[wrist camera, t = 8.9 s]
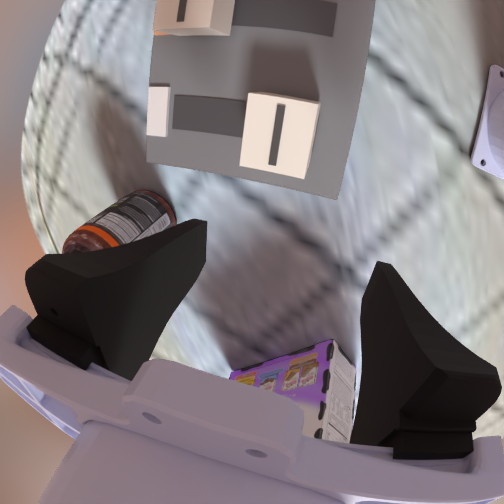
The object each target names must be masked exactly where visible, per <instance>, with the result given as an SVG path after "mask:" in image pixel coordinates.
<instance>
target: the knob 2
mask: <svg viewBox="0 0 504 504" xmlns="http://www.w3.org/2000/svg"><path fill="white" fill-rule="evenodd" d="M320 105H321V102H317V101H312V100H307V99H302V98H297V97H291V96H286V95H280V94H273V93H266V92H252V93H248V100H247V108H246V115H245V123H244V131H243V139H242V148H241V156H240V165H239V166H243V167H249V168H254V169H259V170H264V171H269V172H274V173H278V174H283V175H287V176H292V177H296V178H301V179H304V178H305V175H306V172H307V169H308V167H309V163H310V158H311V153H312V148H313V143H314V137H315V132H316V127H317V121H318V116H319V110H320Z"/></svg>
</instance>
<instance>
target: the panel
mask: <svg viewBox="0 0 504 504" xmlns="http://www.w3.org/2000/svg"><path fill="white" fill-rule="evenodd" d="M374 8H375V0H235V4H234V11H233V18H232V24H231V31H230V36H219V35H192V36H177V35H173V34H168V33H163V32H159V31H154V38H153V46H152V56H151V66H150V78H149V92H148V110H147V141H146V162H148V163H155V164H162V165H168V166H175V167H181V168H187V169H193V170H199V171H205V172H210V173H216V174H221V175H226V176H232V177H237V178H242V179H247V180H252V181H257V182H261V183H266V184H271V185H275V186H280V187H284V188H289V189H293V190H298V191H302V192H306V193H310V194H314V195H319V196H323V197H327V198H331V199H334V200H337V199H338V195H339V191H340V187H341V183H342V179H343V175H344V171H345V166H346V162H347V158H348V154H349V149H350V145H351V140H352V136H353V131H354V126H355V122H356V117H357V112H358V107H359V102H360V97H361V91H362V86H363V81H364V75H365V69H366V63H367V57H368V51H369V45H370V38H371V31H372V24H373V16H374ZM252 92H266V93H273V94H280V95H286V96H291V97H297V98H302V99H307V100H312V101H317V102H321V105H320V110H319V116H318V121H317V127H316V132H315V137H314V143H313V148H312V153H311V158H310V163H309V167H308V169H307V172H306V175H305V178H304V179H301V178H296V177H292V176H287V175H283V174H278V173H274V172H269V171H264V170H259V169H254V168H249V167H243V166H239V165H240V156H241V148H242V139H243V131H244V123H245V115H246V108H247V100H248V93H252Z"/></svg>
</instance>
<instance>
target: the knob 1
mask: <svg viewBox="0 0 504 504" xmlns="http://www.w3.org/2000/svg"><path fill="white" fill-rule="evenodd" d="M234 4H235V0H157V3H156V9H155V16H154V23H153V31H159V32H163V33H168V34H173V35H177V36H192V35H219V36H230V31H231V24H232V18H233V11H234Z"/></svg>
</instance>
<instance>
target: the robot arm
mask: <svg viewBox="0 0 504 504" xmlns="http://www.w3.org/2000/svg"><path fill="white" fill-rule="evenodd" d="M500 71H501V72H502V74H503V77H501V76H500ZM482 159H483V160H484V163H483V164H482V165H481V164H480V162H481V160H482ZM471 163H472V164H473V165H474V166H476V167H478V168H480V169H482V170H484V171H486V172H489V173H491V174H493V175H495V176H497V177H499V178H501V179H503V180H504V69H503V68H502V67H500V66H498V65H491V66H490V71H489V78H488V84H487V90H486V96H485V101H484V106H483V111H482V115H481V120H480V124H479V128H478V132H477V136H476V140H475V144H474V148H473V151H472V155H471ZM206 241H207V221H203V220H198V219H191V220H188V221H185V222H182V223H180V224H177V225H175V226H173V227H170V228H168V229H165V230H163V231H160V232H158V233H155V234H153V235H150V236H147V237H144V238H142V239H139V240H136V241H133V242H130V243H126V244H123V245H119V246H115V247H110V248H105V249H100V250H95V251H88V252H80V253H69V254H46V255H45V256H43V257H42V258H41V259H40V260H38V261H37V262H36V263H35V264H33V265H32V266H31V267H30V268H28V270H27V271H26V274H25V283H26V287H27V290H28V293H29V295H30V298H31V300H32V303H33V305H34V307H35V310H36V312H37V314H38V315H37V316H36V317H35V318H34V319H32V318H31V317H30V316H29V315H28V314H27V313H26V312H24V311H23V310H21V309H20V308H18V307H17V306H15V305H12V306H11V307H10V308H9V309H8V310H7V311H6V312H4V313H3V314H2V315H1V316H0V378H1V379H2V380H3V381H4V382H5V383H6V384H7V385H8V386H9V387H10V388H11V389H12V390H14V391H15V392H16V393H17V394H18V395H19V396H20V397H22V398H23V399H24V400H25V401H26V402H27V403H29V404H30V405H31V406H32V407H33V408H34V409H36V410H37V411H38V412H39V413H41V414H42V415H43V416H44V417H45V418H47V419H48V420H49V421H51V422H52V423H53V424H54V425H56V426H57V427H58V428H60V429H61V430H62V431H64V432H65V433H66V434H68V435H69V436H70V437H72V438H73V439H75V441H74V443H73V444H72V446H71V448H70V449H69V451H68V452H67V454H66V456H65V457H64V459H63V461H62V462H61V464H60V465H59V467H58V469H57V471H56V472H55V474H54V476H53V477H52V479H51V480H50V482H49V484H48V486H47V487H46V489H45V491H44V492H43V494H42V496H41V498H40V499H39V501H38V503H37V504H488V503H490V502H492V501H494V500H496V499H498V498H500V497H502V496H504V454H503V446H502V440H501V436H488V437H479V438H476V439H474V440H473V438H472V432H474V431H475V430H476V420H477V419H478V418H479V417H480V416H481V415H482V414H484V413H485V412H486V411H487V410H488V409H489V408H490V407H491V406H492V405H493V404H494V403H495V402H496V400H497V399H498V397H499V395H500V393H501V389H502V386H501V382H500V379H499V375H498V372H497V368H496V367H495V366H493V365H491V364H490V363H488V362H487V361H485V360H483V359H482V358H480V357H479V356H477V355H476V354H474V353H473V352H472V351H470V350H469V349H468V348H466V347H465V346H464V345H462V344H461V343H460V342H459V341H458V340H456V339H455V338H454V337H453V336H452V335H451V334H450V333H448V332H447V331H446V330H445V329H444V328H443V327H442V326H441V325H440V324H439V323H438V322H437V321H436V320H435V319H434V318H433V317H432V315H431V314H430V313H429V312H428V311H427V310H426V309H425V307H424V306H423V305H422V304H421V303H420V301H419V300H418V299H417V298H416V296H415V295H414V294H413V292H412V291H411V290H410V288H409V287H408V286H407V284H406V283H405V282H404V280H403V279H402V278H401V276H400V275H399V274H398V272H397V271H396V270H395V268H394V267H393V266H392V265H391V264H388V263H384V262H380V261H377V262H376V265H375V268H374V270H373V273H372V275H371V278H370V280H369V283H368V285H367V288H366V290H365V293H364V295H363V298H362V303H361V316H360V326H361V350H362V373H361V382H360V391H359V397H358V404H357V410H356V415H355V420H354V425H353V430H352V434H351V438H350V442H349V443H342V442H335V441H329V440H323V439H317V438H311V437H308V436H305V435H303V434H302V430H303V425H304V411H303V410H302V409H301V408H300V407H299V406H298V405H297V404H295V403H294V402H293V401H292V400H291V399H290V398H288V397H285V396H283V395H280V394H278V393H275V392H273V391H270V390H266V389H262V388H258V387H255V386H251V385H247V384H244V383H240V382H237V381H233V380H230V379H226V378H223V377H220V376H217V375H213V374H210V373H207V372H204V371H201V370H198V369H195V368H192V367H189V366H186V365H183V364H180V363H178V362H174V361H169V360H164V359H153V360H149V358H150V356H151V354H152V352H153V350H154V348H155V346H156V343H157V341H158V339H159V337H160V335H161V334H162V332H163V330H164V328H165V326H166V324H167V322H168V321H169V319H170V317H171V316H172V314H173V313H174V311H175V310H176V308H177V307H178V306H179V304H180V303H181V301H182V300H183V299H184V297H185V296H186V294H187V293H188V291H189V290H190V289H191V287H192V286H193V284H194V283H195V281H196V280H197V278H198V276H199V274H200V272H201V271H202V268H203V266H204V264H205V262H206Z"/></svg>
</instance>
